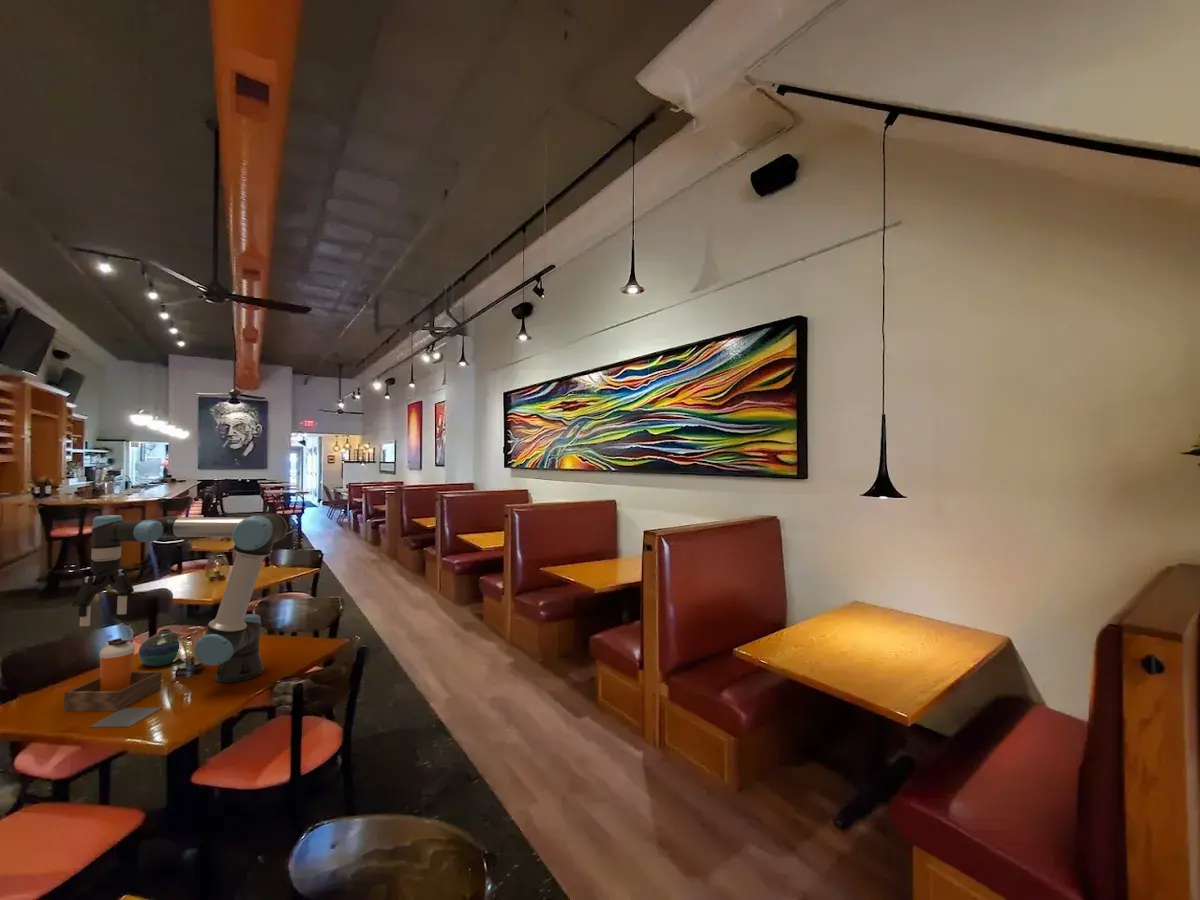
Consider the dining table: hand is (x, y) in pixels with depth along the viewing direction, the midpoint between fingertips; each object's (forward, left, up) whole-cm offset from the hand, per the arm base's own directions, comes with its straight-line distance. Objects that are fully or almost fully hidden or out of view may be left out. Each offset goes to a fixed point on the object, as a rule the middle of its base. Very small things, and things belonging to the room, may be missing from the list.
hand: (103, 619), depth 175 cm
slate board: (-23, +16, -26) cm, 38 cm away
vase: (+1, -29, -27) cm, 40 cm away
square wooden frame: (-8, +3, -26) cm, 28 cm away
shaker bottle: (-8, +3, -27) cm, 28 cm away
